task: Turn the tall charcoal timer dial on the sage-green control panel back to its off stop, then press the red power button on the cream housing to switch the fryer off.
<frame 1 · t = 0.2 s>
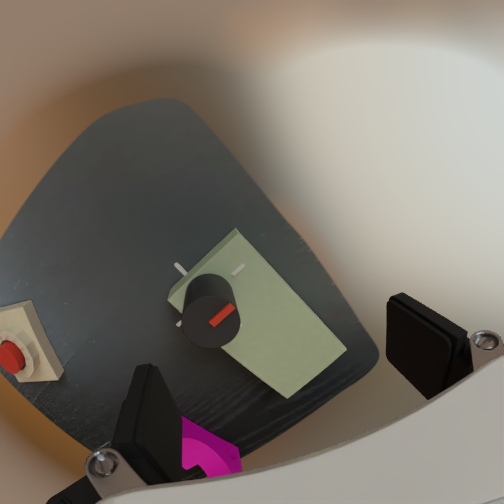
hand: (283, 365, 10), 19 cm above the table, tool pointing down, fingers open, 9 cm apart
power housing: (26, 340, 27), on the table
power button: (10, 357, 22), point 4 cm above the table, slide at 0.1 cm
toy block: (184, 435, 33), on the table
dial panel: (261, 317, 31), on the table
timer dial: (210, 309, 23), point 6 cm above the table, hinge at 90.0°
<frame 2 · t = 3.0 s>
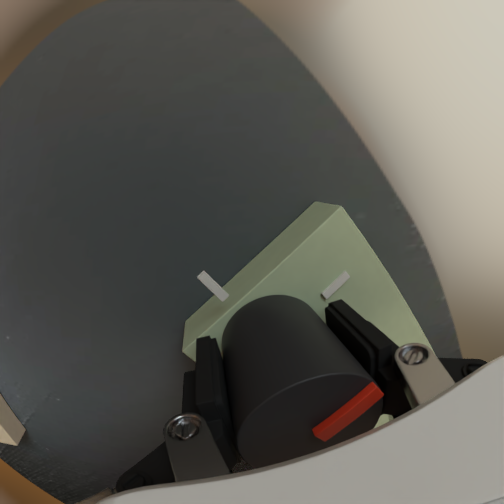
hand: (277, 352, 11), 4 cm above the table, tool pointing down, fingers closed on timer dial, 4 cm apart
dial panel: (343, 360, 17), on the table
timer dial: (291, 381, 9), point 6 cm above the table, hinge at 90.0°, touching gripper
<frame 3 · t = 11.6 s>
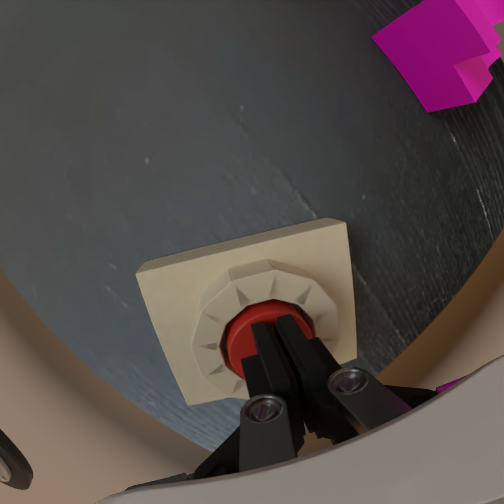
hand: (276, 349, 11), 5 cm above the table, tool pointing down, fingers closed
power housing: (253, 308, 16), on the table
power button: (267, 340, 12), point 4 cm above the table, slide at -0.8 cm, touching gripper
toy block: (442, 42, 14), on the table
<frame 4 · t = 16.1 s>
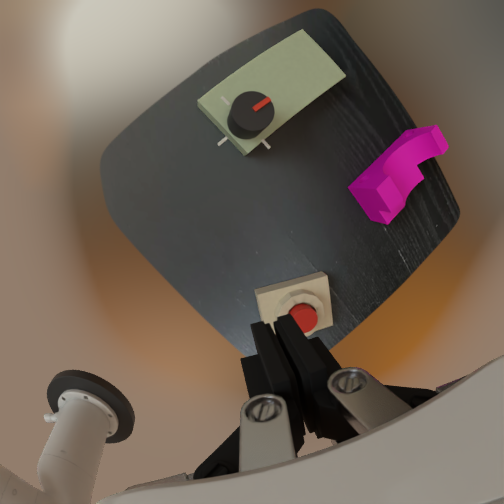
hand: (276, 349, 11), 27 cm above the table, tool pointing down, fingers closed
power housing: (293, 305, 41), on the table
power button: (302, 318, 37), point 4 cm above the table, slide at 0.1 cm
toy block: (389, 173, 39), on the table
dial panel: (272, 90, 34), on the table
timer dial: (249, 116, 29), point 6 cm above the table, hinge at -2.5°
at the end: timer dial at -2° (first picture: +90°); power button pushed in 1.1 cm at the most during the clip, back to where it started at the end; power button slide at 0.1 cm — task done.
